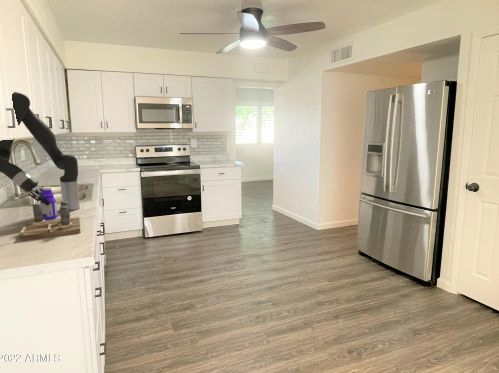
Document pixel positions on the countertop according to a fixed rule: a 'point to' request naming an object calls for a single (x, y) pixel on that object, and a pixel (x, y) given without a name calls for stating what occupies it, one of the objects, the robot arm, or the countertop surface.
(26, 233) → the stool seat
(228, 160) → the countertop surface
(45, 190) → the bottle
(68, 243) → the countertop surface
